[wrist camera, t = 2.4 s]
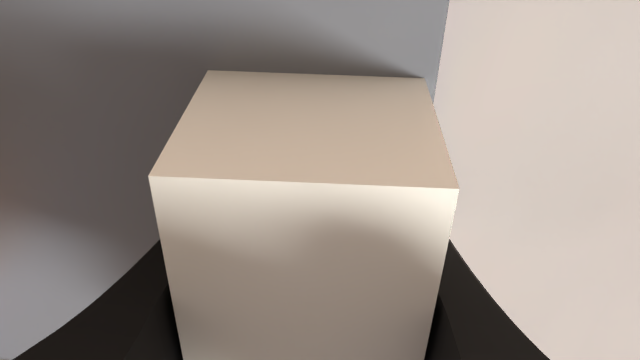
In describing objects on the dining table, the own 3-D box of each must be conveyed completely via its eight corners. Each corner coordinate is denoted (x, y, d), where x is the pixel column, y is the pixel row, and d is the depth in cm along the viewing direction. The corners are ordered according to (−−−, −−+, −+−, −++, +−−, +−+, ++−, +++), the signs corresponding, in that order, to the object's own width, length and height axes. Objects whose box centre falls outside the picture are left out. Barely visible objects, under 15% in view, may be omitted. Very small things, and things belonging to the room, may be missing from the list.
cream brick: (234, 328, 15) (203, 466, 12) (208, 70, 11) (148, 175, 8) (388, 336, 15) (399, 476, 12) (424, 78, 11) (459, 189, 8)
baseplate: (-27, 501, 24) (-42, 528, 23) (-425, -63, 11) (-495, -53, 10) (362, 523, 24) (363, 550, 23) (444, -35, 11) (453, -22, 10)
